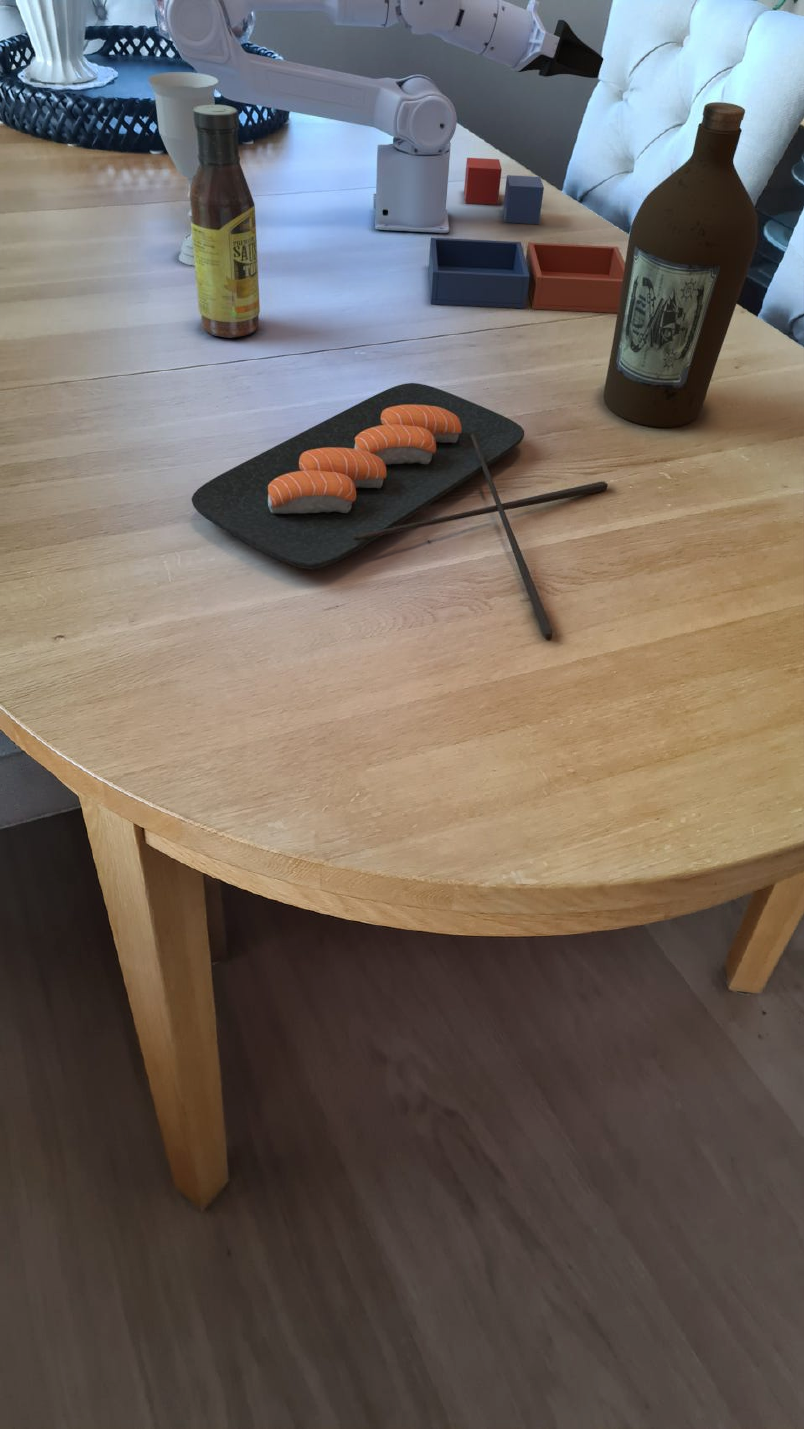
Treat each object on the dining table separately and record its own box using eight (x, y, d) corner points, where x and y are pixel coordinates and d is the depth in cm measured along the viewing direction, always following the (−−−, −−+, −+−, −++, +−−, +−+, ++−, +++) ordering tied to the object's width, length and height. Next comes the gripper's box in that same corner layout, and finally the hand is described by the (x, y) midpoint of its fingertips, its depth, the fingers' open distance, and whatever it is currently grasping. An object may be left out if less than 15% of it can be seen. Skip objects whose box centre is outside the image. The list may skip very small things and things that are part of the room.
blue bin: (430, 304, 108) (432, 272, 105) (428, 268, 115) (430, 237, 113) (525, 308, 108) (529, 276, 106) (517, 272, 116) (521, 242, 113)
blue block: (505, 222, 128) (509, 185, 125) (502, 211, 131) (506, 175, 128) (538, 224, 128) (544, 187, 125) (535, 213, 131) (540, 176, 128)
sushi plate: (409, 395, 92) (411, 356, 89) (691, 516, 79) (703, 475, 77) (177, 518, 75) (171, 475, 73) (485, 696, 63) (492, 652, 60)
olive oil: (618, 369, 98) (681, 83, 80) (720, 398, 95) (808, 105, 77) (579, 411, 91) (638, 108, 74) (687, 443, 88) (775, 134, 70)
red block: (465, 203, 133) (468, 167, 130) (463, 193, 136) (466, 157, 133) (497, 205, 133) (501, 169, 130) (495, 194, 136) (499, 159, 133)
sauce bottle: (250, 344, 98) (235, 122, 84) (191, 336, 99) (167, 115, 85) (269, 319, 103) (258, 104, 89) (213, 311, 103) (194, 97, 89)
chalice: (237, 250, 116) (224, 75, 104) (224, 271, 111) (209, 90, 99) (177, 245, 117) (157, 70, 104) (162, 265, 112) (139, 85, 99)
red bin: (532, 309, 108) (537, 277, 106) (523, 273, 116) (528, 242, 113) (626, 313, 108) (633, 282, 106) (612, 277, 116) (618, 246, 114)
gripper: (520, -16, 105) (625, 29, 110) (479, -14, 116) (576, 26, 121) (498, 59, 108) (600, 99, 113) (460, 54, 120) (555, 90, 125)
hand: (586, 66), depth 117 cm, fingers open, 7 cm apart
